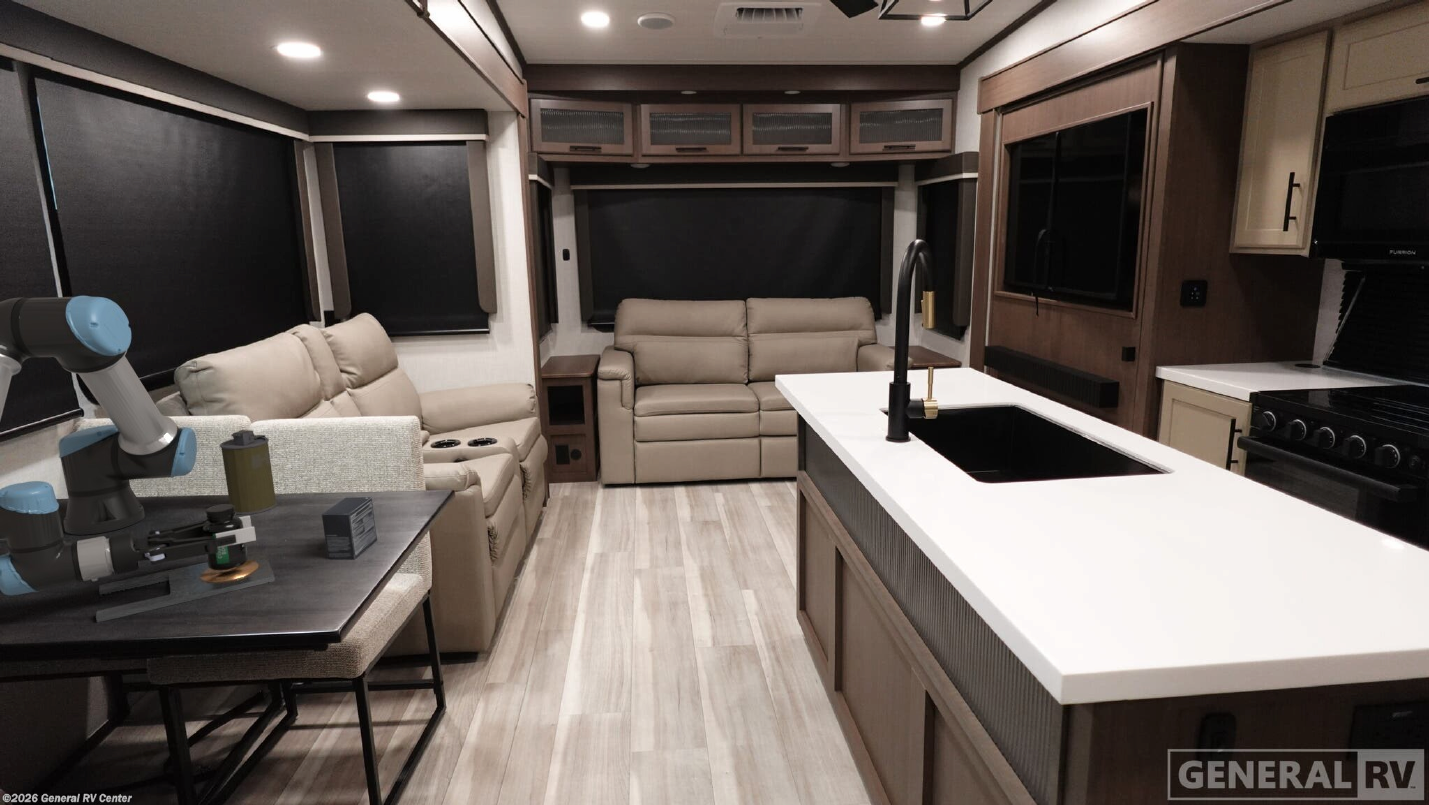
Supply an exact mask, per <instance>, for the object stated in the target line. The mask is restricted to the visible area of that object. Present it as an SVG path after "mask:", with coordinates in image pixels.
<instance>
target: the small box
mask: <svg viewBox="0 0 1429 805" xmlns="http://www.w3.org/2000/svg"><path fill="white" fill-rule="evenodd" d="M321 519H322V525H323V534H324V541H325V549H326V553H327V554H326V556H327V560H356V559H357V558H358V557H360V556H361V555H362V554H363V553H364V552H366V550H368V549H369V548H370V547H371V546H372V545H373V544H375V543H376V542H377V541H378V537H377V529H376V522H375V514H374V504H373V498H372V496H367V497H364V496H363V497H361V496H360V497H357V496H356V497H353V496H352V497H350V496H349V497H344V498H343V499H342V500H340V501H339V502H338V503H336V504H334V505H333V506H332V507H330V508H328V509H327V510H326V511H325V512H323V513H322V514H321Z"/></svg>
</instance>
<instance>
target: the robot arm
mask: <svg viewBox="0 0 1429 805" xmlns="http://www.w3.org/2000/svg"><path fill="white" fill-rule="evenodd" d="M129 324H130V322H129V318H128V317H127V315H126V314H125V312H124V310H123V309H122V308H121V307H120V306H119V304H118V303H116V302H115V301H113V300H111V299H109V298H106V297H101V296H89V295H78V296H61V297H60V296H57V297H56V296H55V297H53V296H52V297H50V296H49V297H14V298H9V299H6V300H3V301H0V421H1V419H2V416H3V412H4V408H5V403H6V401H7V396H8V392H9V389H10V384H11V380H12V377H13V376H15V375H17V374H19V373H20V372H21V370H22V366H23V363H24V362H25V360H27V359H30V358H52V357H53V358H55V359H56V360H57V361H58V363H59V364H60V366H61V367H62V368H63V369H64V370H65V371H66V372H67V371H68V372H70V373H72V374H78V375H79V377H80V379H81V380H82V381H83V383H84V384H85V386H86V387H87V388H88V390H89V391H90V393H91V394H92V395H93V397H94V398H95V400H96V401H97V403H98V404H99V406H101V408H102V409H103V411H104V412H105V413H106V415H107V417H108V418H109V419H110V421H111V422H112V424H103V425H98V426H93V427H90V428H89V427H88V428H84V429H81V430H77V431H74V432H72V433H71V432H70V433H68V434H66V435H64V436H62V437H61V438H60V439H59V442H58V451H59V454H58V455H59V456H58V458H60V463H61V468H62V472H63V477H64V481H65V482H64V483H65V486H66V490H67V491H66V492H67V498H68V500H67V506H66V512H65V517H64V519H63V525H62V519H61V514H60V510H59V507H60V503H59V502H58V500H57V498H56V494H55V489H54V487H53V486H52V484H51V483H49V482H47V481H43V480H42V481H41V480H31V481H26V482H18V483H14V484H13V483H12V484H9V485H7V486H4V487H1V488H0V541H5V542H6V544H7V550H8V552H6V553H5V554H4V553H3V554H2V555H1V554H0V591H1V593H2V594H4V595H6V596H17V595H18V596H19V595H22V594H27V593H28V594H29V593H39V592H42V591H44V590H50V589H54V588H59V587H63V586H68V585H72V584H76V583H83V582H86V581H90V580H91V582H97V581H98V580H99V579H101V578H106V577H110V576H111V575H112V573H113V572H114V574H116V575H121V574H126V573H132V572H135V571H138V570H139V569H140V562H141V561H150V564H151V566H156V565H159V564H163V563H166V562H172V561H178V560H183V559H189V558H194V557H199V556H207V554H212V553H213V554H215V553H218V548H220V547H225V546H230V545H235V544H240V543H245V542H246V543H248V542H254V541H257V538H256V531H255V530H256V529H255V526H252V521H251V516H250V515H251V514H249V515H244V516H239V517H238V518H240V519H241V520H242V522H243V527H244V528H243V529H238V530H233V531H227V532H222V533H217V534H216V536H210V537H204V536H203V526H204V524H205V523H206V522H208V521H209V520H207V519H204V520H198V521H195V522H194V521H193V522H190V523H186V524H180V525H176V526H171V527H165V528H162V529H161V528H160V529H152V530H149V531H148V535H147V536H145V537H141V538H138V539H136V535H135V532H133V531H125V532H120V533H114V534H113V533H112V534H111V535H110V536H109V538H106V536H104V535H102V536H97V537H92V538H85V539H79V540H76V541H75V540H74V541H71V542H66V541H65V537H64V536H65V535H64V532H65V533H67V534H69V535H75V536H76V535H77V536H79V535H80V536H81V535H84V536H85V535H86V536H87V535H95V534H103V533H107V532H112V531H116V530H120V529H124V528H126V527H127V528H128V527H130V526H133V525H134V524H137V523H139V522H141V521H142V520H143V519H144V518H145V510H144V507H143V505H142V504H141V503H140V501H139V499H138V497H137V495H136V494H135V493H134V490H133V489H132V486H131V483H130V482H131V481H132V480H151V479H166V478H171V479H172V478H174V477H175V478H176V477H182V476H186V475H188V474H191V472H192V471H193V469H194V467H195V464H196V460H197V455H198V454H197V453H198V451H197V450H198V443H197V437H196V432H195V431H194V429H193V428H191V427H187V426H183V427H178V425H177V423H176V422H175V420H174V419H172V418H171V417H169V416H167V415H165V414H164V415H163V414H162V413H161V412H160V410H159V408H158V407H157V406H156V404H155V402H154V401H153V399H152V397H151V396H150V393H148V391H147V389H146V388H145V386H144V385H143V383H142V382H141V379H140V378H139V377H138V375H137V374H136V372H135V370H134V368H133V367H132V365H131V363H130V362H129V360H128V358H127V357H126V354H127V352H128V349H129V348H130V345H131V341H132V330H131V327H130V326H129ZM63 527H64V529H63ZM63 531H64V532H63ZM217 547H218V548H217Z"/></svg>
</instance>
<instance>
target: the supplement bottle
mask: <svg viewBox="0 0 1429 805" xmlns="http://www.w3.org/2000/svg"><path fill="white" fill-rule="evenodd" d="M205 513H206V517H205V518H206V520H209V521H208V522H206V523H205V524H204V526H203V536H204V537H210V536H216V534H217V533H222V532H227V531H233V530H238V529H243V528H244V527H243V522H242V520H241V519H240V518H239V517H238V516H236V512H235V507H234V505H232V504H230V503H224V504H222V503H221V504H217V505H213V506H210V507H208V508H206V510H205ZM217 548H218V547H217ZM247 554H248V549H247V542H245V543H240V544H235V545H230V546H225V547H220V548H218V553H215V554H213V553H212V554H207V555H206V560H207V561H206V562H208V566H209V568H210V569H212V570H218V571H220V570H229V569H233V568H236V567H239V566H241V565H243V564H244V563H246V561H247V560H248V555H247Z"/></svg>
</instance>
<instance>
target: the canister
mask: <svg viewBox="0 0 1429 805" xmlns="http://www.w3.org/2000/svg"><path fill="white" fill-rule="evenodd" d="M230 436H231V437H233V438H231V439H227V440H226V441H223V442H221V443H220V444H219V448H220V449H221V454H222V455H221V456H222V460H223V468H224V475H225V482H226V487H227V488H226V489H227V495H228V502H229V504H232V505H234V507H235V512H236V515H237V516H238V515H239V516H243V515H244V516H249V515H254V514H260V513H264V512H267V511H270V510H272V509H274V508H276V506H278V501H277V500H276V492H275V486H274V485H275V484H274V478H273V469H272V463H271V455H270V449H269V448H270V447H269V441H270V439H269V438H268V437H266V435H265V434H257V435H256V434H255V432H254V430H249V429H241V430H238V431H236V432H233V433H231V435H230ZM236 515H235V516H236Z"/></svg>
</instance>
